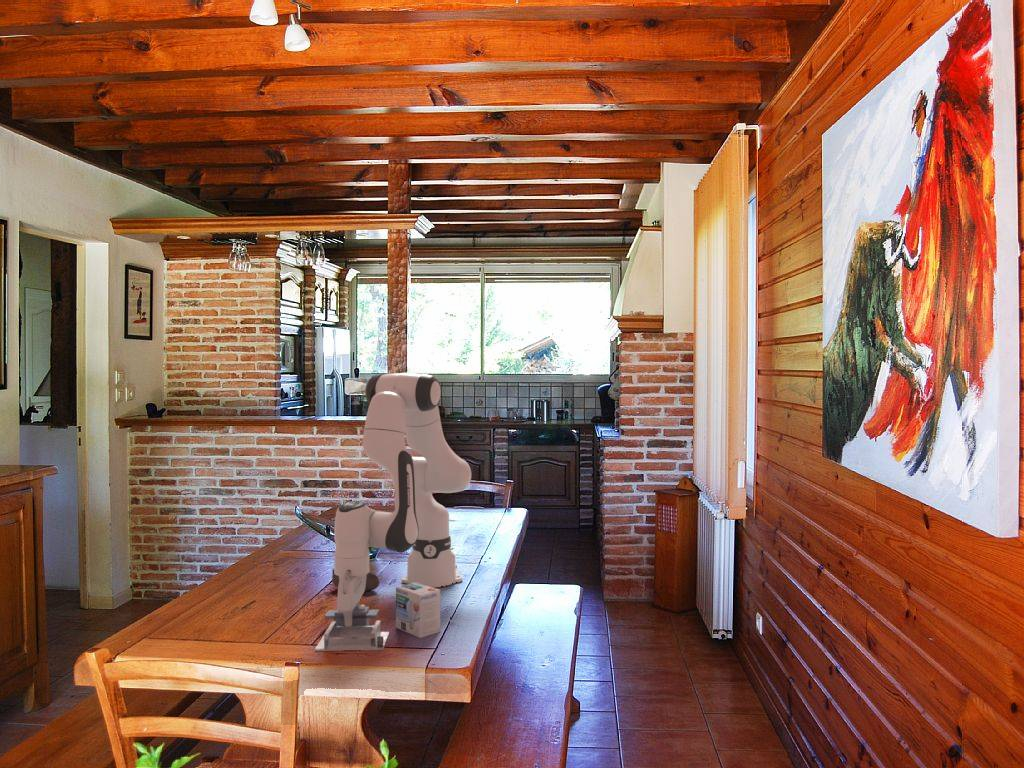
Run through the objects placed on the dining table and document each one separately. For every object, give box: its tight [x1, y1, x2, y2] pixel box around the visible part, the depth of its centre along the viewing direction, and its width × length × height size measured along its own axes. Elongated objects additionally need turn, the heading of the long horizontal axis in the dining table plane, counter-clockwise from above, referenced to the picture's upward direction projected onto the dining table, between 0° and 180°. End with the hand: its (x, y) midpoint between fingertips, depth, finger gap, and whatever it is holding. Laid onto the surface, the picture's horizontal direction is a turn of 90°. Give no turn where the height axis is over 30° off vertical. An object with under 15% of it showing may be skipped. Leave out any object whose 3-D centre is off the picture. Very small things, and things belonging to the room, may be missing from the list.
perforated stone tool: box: [331, 568, 380, 592], centre depth 228 cm, size 15×5×7 cm, turn 70°
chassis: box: [314, 620, 390, 652], centre depth 185 cm, size 11×16×4 cm
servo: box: [324, 604, 380, 626], centre depth 195 cm, size 4×13×6 cm, turn 91°
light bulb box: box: [395, 582, 441, 639], centre depth 193 cm, size 11×7×11 cm, turn 45°
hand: (351, 620), depth 194 cm, fingers open, 7 cm apart
